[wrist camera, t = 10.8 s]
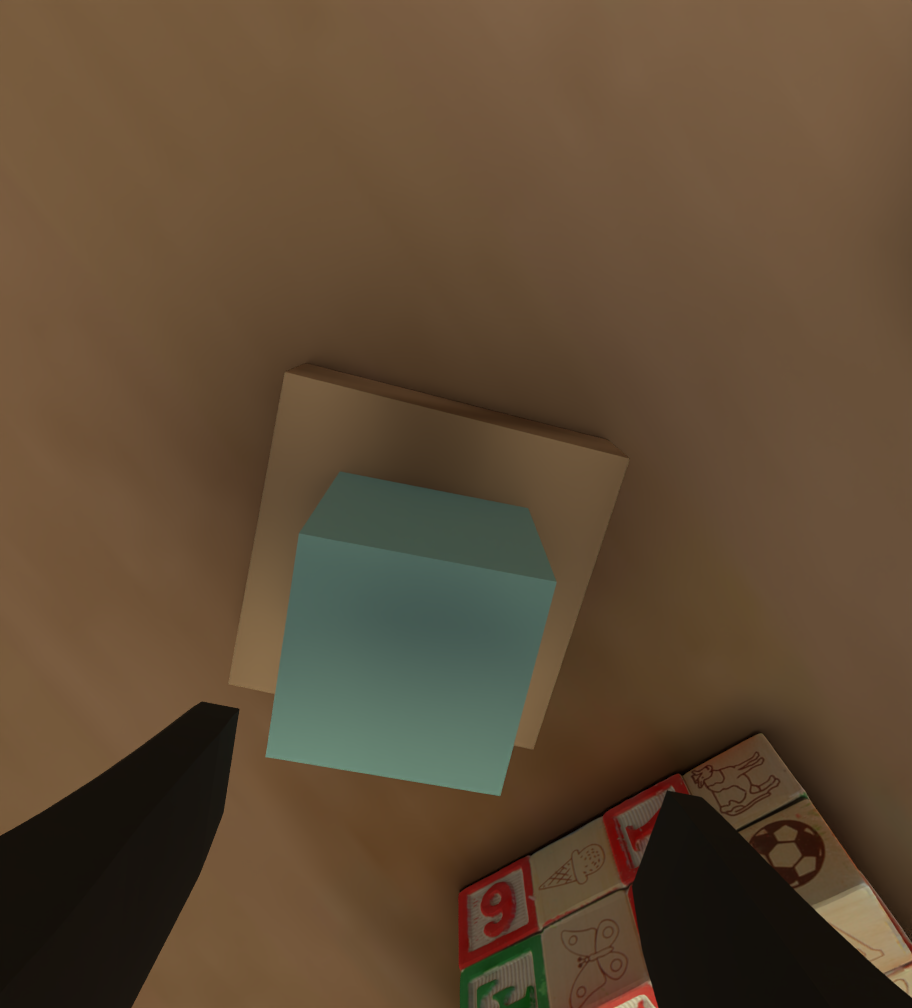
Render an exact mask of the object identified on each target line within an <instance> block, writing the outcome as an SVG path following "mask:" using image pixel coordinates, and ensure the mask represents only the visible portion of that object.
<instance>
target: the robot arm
mask: <svg viewBox="0 0 912 1008" xmlns="http://www.w3.org/2000/svg"><path fill="white" fill-rule="evenodd" d="M238 714H239V709H238V708H233V707H228V706H222V705H217V704H212V703H207V702H200V703H199V704H197V705H195V706H194V707H192V708H191V709H190V710H188V711H187V712H186V713H185V714H183V715H182V716H181V717H179V718H178V719H177V720H175V721H174V722H173V723H171V724H170V725H169V726H168V727H166V728H165V729H164V730H162V731H161V732H160V733H158V734H157V735H156V736H154V737H153V738H151V739H150V740H149V741H147V742H146V743H145V744H143V745H142V746H141V747H139V748H138V749H137V750H135V751H134V752H132V753H131V754H129V755H128V756H127V757H125V758H124V759H122V760H121V761H119V762H118V763H117V764H115V765H114V766H112V767H111V768H109V769H108V770H107V771H105V772H104V773H102V774H101V775H99V776H98V777H96V778H95V779H93V780H92V781H90V782H89V783H87V784H86V785H84V786H82V787H81V788H79V789H78V790H76V791H75V792H73V793H71V794H70V795H68V796H67V797H65V798H64V799H62V800H60V801H59V802H57V803H56V804H54V805H52V806H51V807H49V808H48V809H46V810H45V811H43V812H41V813H40V814H38V815H36V816H34V817H33V818H31V819H29V820H28V821H26V822H24V823H22V824H21V825H19V826H17V827H15V828H14V829H12V830H10V831H8V832H6V833H5V834H3V835H1V836H0V1008H131V1007H132V1005H133V1003H134V1001H135V999H136V998H137V996H138V994H139V992H140V990H141V988H142V986H143V984H144V982H145V980H146V978H147V976H148V974H149V972H150V970H151V969H152V967H153V965H154V963H155V961H156V959H157V957H158V955H159V953H160V951H161V949H162V947H163V945H164V943H165V941H166V939H167V938H168V936H169V934H170V932H171V930H172V928H173V926H174V924H175V922H176V920H177V918H178V916H179V914H180V912H181V910H182V908H183V906H184V904H185V902H186V900H187V899H188V897H189V895H190V893H191V891H192V889H193V887H194V885H195V883H196V881H197V879H198V877H199V875H200V872H201V870H202V867H203V865H204V862H205V860H206V857H207V855H208V852H209V849H210V847H211V844H212V842H213V839H214V836H215V834H216V831H217V828H218V826H219V823H220V820H221V818H222V815H223V812H224V806H225V799H226V793H227V786H228V780H229V773H230V767H231V760H232V754H233V747H234V741H235V734H236V727H237V721H238ZM632 892H633V899H634V905H635V912H636V919H637V925H638V930H639V936H640V941H641V947H642V952H643V956H644V959H645V963H646V967H647V970H648V974H649V977H650V981H651V984H652V988H653V991H654V995H655V998H656V1002H657V1005H658V1008H912V997H910V996H909V995H908V994H907V993H906V992H904V991H903V990H902V989H901V988H900V987H898V986H897V985H896V984H895V983H894V982H893V981H891V980H890V979H889V978H888V977H887V976H886V975H885V974H883V973H882V972H881V971H880V970H879V969H878V968H877V967H875V966H874V965H873V964H872V963H871V962H870V961H869V960H868V959H867V958H866V957H865V956H863V955H862V954H861V953H860V952H859V951H858V950H857V949H856V948H855V947H854V946H853V945H852V944H851V943H849V942H848V941H847V940H846V939H845V938H844V937H843V936H842V935H841V934H840V933H839V932H838V931H836V930H835V929H834V928H833V927H832V926H831V925H830V924H829V923H828V922H827V921H826V920H825V919H824V918H823V917H822V916H821V915H820V914H819V913H818V912H817V911H816V910H815V909H814V908H813V907H812V906H811V905H810V904H809V903H807V902H806V901H805V900H804V899H803V898H802V897H801V896H800V895H799V894H798V893H797V892H796V891H795V890H794V889H793V888H792V887H791V886H790V885H789V884H788V883H787V882H786V881H785V879H784V878H783V877H782V876H781V875H780V874H779V873H778V872H777V871H776V870H775V869H774V868H773V867H772V866H771V865H770V864H769V863H768V862H767V861H766V860H765V859H764V858H763V857H762V856H761V855H760V854H759V853H758V852H757V851H756V850H755V849H754V848H753V847H752V846H751V845H750V844H749V843H748V842H747V841H746V840H745V839H744V838H743V836H742V835H741V834H740V833H739V832H738V831H737V830H736V829H735V828H734V827H733V826H732V825H731V824H730V823H729V822H728V821H727V820H726V819H725V818H724V817H723V816H722V815H721V814H720V813H719V812H718V811H717V810H716V809H714V808H713V807H712V806H711V805H710V804H709V803H708V802H707V801H706V800H705V799H704V798H702V797H699V796H694V795H689V794H683V793H678V792H673V791H668V790H667V792H666V794H665V797H664V800H663V803H662V805H661V808H660V811H659V814H658V816H657V819H656V822H655V824H654V827H653V830H652V833H651V835H650V838H649V841H648V844H647V846H646V849H645V852H644V854H643V857H642V860H641V863H640V865H639V868H638V871H637V874H636V876H635V879H634V882H633V884H632Z"/></svg>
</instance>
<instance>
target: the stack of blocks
mask: <svg viewBox="0 0 912 1008" xmlns="http://www.w3.org/2000/svg"><path fill="white" fill-rule="evenodd" d="M667 790H668V791H673V792H678V793H683V794H689V795H694V796H699V797H702V798H704V799H705V800H706V801H707V802H708V803H709V804H710V805H711V806H712V807H713V808H714V809H716V810H717V811H718V812H719V813H720V814H721V815H722V816H723V817H724V818H725V819H726V820H727V821H728V822H729V823H730V824H731V825H732V826H733V827H734V828H735V829H736V830H737V831H738V832H739V833H740V834H741V835H742V836H743V838H744V839H745V840H746V841H747V842H748V843H749V844H750V845H751V846H752V847H753V848H754V849H755V850H756V851H757V852H758V853H759V854H760V855H761V856H762V857H763V858H764V859H765V860H766V861H767V862H768V863H769V864H770V865H771V866H772V867H773V868H774V869H775V870H776V871H777V872H778V873H779V874H780V875H781V876H782V877H783V878H784V879H785V881H786V882H787V883H788V884H789V885H790V886H791V887H792V888H793V889H794V890H795V891H796V892H797V893H798V894H799V895H800V896H801V897H802V898H803V899H804V900H805V901H806V902H807V903H809V904H810V905H811V906H812V907H813V908H814V909H815V910H816V911H817V912H818V913H819V914H820V915H821V916H822V917H823V918H824V919H825V920H826V921H827V922H828V923H829V924H830V925H831V926H832V927H833V928H834V929H835V930H836V931H838V932H839V933H840V934H841V935H842V936H843V937H844V938H845V939H846V940H847V941H848V942H849V943H851V944H852V945H853V946H854V947H855V948H856V949H857V950H858V951H859V952H860V953H861V954H862V955H863V956H865V957H866V958H867V959H868V960H869V961H870V962H871V963H872V964H873V965H874V966H875V967H877V968H878V969H879V970H880V971H881V972H882V973H883V974H885V975H886V976H887V977H888V978H889V979H890V980H891V981H893V982H894V983H895V984H896V985H897V986H898V987H900V988H901V989H902V990H903V991H904V992H906V993H907V994H908V995H909V996H910V997H912V942H911V941H910V939H909V938H908V936H907V935H906V933H905V932H904V930H903V929H902V927H901V926H900V925H899V923H898V922H897V920H896V919H895V918H894V916H893V915H892V913H891V912H890V911H889V909H888V908H887V906H886V905H885V904H884V902H883V901H882V899H881V898H880V897H879V895H878V894H877V892H876V891H875V890H874V888H873V887H872V886H871V884H870V883H869V882H868V880H867V879H866V878H865V876H864V875H863V874H862V873H861V871H859V870H858V868H857V867H856V865H855V864H854V863H853V861H852V860H851V858H850V857H849V855H848V854H847V852H846V851H845V849H844V848H843V847H842V845H841V844H840V842H839V841H838V839H837V838H836V837H835V835H834V834H833V832H832V831H831V829H830V828H829V826H828V825H827V824H826V822H825V821H824V819H823V818H822V816H821V815H820V814H819V812H818V811H817V809H816V808H815V806H814V805H813V804H812V802H811V800H810V799H809V797H808V796H807V793H806V792H805V790H804V789H803V788H802V786H801V785H800V784H799V783H798V781H797V780H796V779H795V777H794V776H793V774H792V773H791V772H790V770H789V769H788V768H787V766H786V765H785V763H784V762H783V761H782V759H781V758H780V757H779V755H778V754H777V752H776V751H775V750H774V748H773V747H772V746H771V744H770V743H769V741H768V740H767V739H766V737H765V736H764V735H763V734H762V733H760V734H757V735H755V736H753V737H751V738H749V739H747V740H745V741H743V742H741V743H739V744H738V745H736V746H734V747H732V748H730V749H729V750H727V751H725V752H723V753H721V754H719V755H718V756H716V757H714V758H712V759H710V760H708V761H707V762H705V763H703V764H701V765H699V766H697V767H696V768H694V769H692V770H690V771H689V772H687V773H686V774H685V775H683V776H681V775H680V774H675V775H673V776H671V777H669V778H668V779H666V780H664V781H662V782H659V783H657V784H656V785H654V786H653V787H651V788H649V789H647V790H645V791H643V792H641V793H639V794H637V795H636V796H634V797H632V798H630V799H628V800H625V801H624V802H623V803H621V804H620V805H618V806H616V807H614V808H612V809H610V810H608V811H607V812H605V814H604V815H603V816H602V817H600V818H597V819H595V820H593V821H592V822H590V823H588V824H586V825H585V826H583V827H581V828H579V829H578V830H576V831H574V832H572V833H570V834H569V835H567V836H565V837H563V838H561V839H559V840H557V841H555V842H553V843H552V844H550V845H548V846H546V847H544V848H543V849H541V850H539V851H537V852H536V853H534V854H533V855H532V856H529V855H528V856H526V857H524V858H522V859H519V860H518V861H516V862H514V863H512V864H510V865H508V866H507V867H505V868H502V869H501V870H499V871H498V872H496V873H494V874H492V875H490V876H488V877H486V878H484V879H482V880H480V881H478V882H477V883H475V884H473V885H471V886H469V887H467V888H465V889H464V890H463V891H461V892H460V893H459V897H458V901H459V968H460V971H461V978H460V1008H658V1005H657V1002H656V998H655V995H654V991H653V988H652V984H651V981H650V977H649V974H648V970H647V967H646V963H645V959H644V956H643V952H642V947H641V941H640V936H639V930H638V925H637V919H636V912H635V905H634V899H633V892H632V884H633V882H634V879H635V876H636V874H637V871H638V868H639V865H640V863H641V860H642V857H643V854H644V852H645V849H646V846H647V844H648V841H649V838H650V835H651V833H652V830H653V827H654V824H655V822H656V819H657V816H658V814H659V811H660V808H661V805H662V803H663V800H664V797H665V794H666V792H667Z"/></svg>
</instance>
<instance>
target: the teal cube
mask: <svg viewBox="0 0 912 1008" xmlns="http://www.w3.org/2000/svg"><path fill="white" fill-rule="evenodd" d="M556 583H557V581H556V579H555V576H554V574H553V571H552V568H551V566H550V563H549V561H548V558H547V556H546V553H545V550H544V548H543V545H542V543H541V540H540V537H539V535H538V532H537V530H536V527H535V524H534V522H533V519H532V517H531V514H530V511H529V509H528V508H525V507H520V506H515V505H509V504H504V503H499V502H494V501H489V500H484V499H479V498H474V497H468V496H463V495H458V494H453V493H448V492H443V491H438V490H433V489H427V488H422V487H417V486H412V485H407V484H402V483H397V482H391V481H386V480H381V479H376V478H371V477H366V476H361V475H356V474H350V473H345V472H339V473H338V475H337V476H336V478H335V479H334V481H333V483H332V484H331V486H330V487H329V489H328V490H327V492H326V493H325V495H324V496H323V498H322V499H321V501H320V502H319V504H318V505H317V507H316V508H315V510H314V511H313V513H312V514H311V516H310V517H309V519H308V520H307V522H306V523H305V525H304V526H303V528H302V529H301V531H300V532H299V536H298V543H297V549H296V556H295V563H294V570H293V576H292V583H291V590H290V597H289V603H288V610H287V617H286V624H285V630H284V637H283V644H282V650H281V657H280V664H279V671H278V677H277V684H276V691H275V698H274V704H273V711H272V718H271V725H270V731H269V738H268V745H267V751H266V757H270V758H276V759H282V760H288V761H294V762H300V763H306V764H312V765H318V766H324V767H330V768H336V769H342V770H348V771H354V772H360V773H366V774H372V775H378V776H384V777H390V778H396V779H402V780H408V781H414V782H420V783H426V784H432V785H438V786H444V787H450V788H455V789H461V790H467V791H473V792H479V793H485V794H491V795H497V796H500V795H501V791H502V787H503V783H504V780H505V776H506V772H507V768H508V764H509V761H510V757H511V753H512V749H513V746H514V742H515V738H516V734H517V730H518V727H519V723H520V719H521V715H522V711H523V708H524V704H525V700H526V696H527V693H528V689H529V685H530V681H531V677H532V674H533V670H534V666H535V662H536V658H537V655H538V651H539V647H540V643H541V640H542V636H543V632H544V628H545V624H546V621H547V617H548V613H549V609H550V606H551V602H552V598H553V594H554V590H555V587H556Z"/></svg>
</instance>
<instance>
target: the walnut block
mask: <svg viewBox="0 0 912 1008" xmlns="http://www.w3.org/2000/svg"><path fill="white" fill-rule="evenodd" d="M629 460H630V458H628V457H627V456H626V455H625V454H624V453H623V452H622V451H620V450H619V449H618V448H617V447H616V446H615V445H614V444H612V443H611V442H610V441H609V440H607V439H603V438H599V437H595V436H591V435H587V434H583V433H579V432H575V431H571V430H567V429H563V428H559V427H555V426H551V425H548V424H544V423H540V422H536V421H532V420H528V419H524V418H520V417H516V416H512V415H508V414H504V413H500V412H496V411H492V410H488V409H484V408H481V407H477V406H473V405H469V404H465V403H461V402H457V401H453V400H449V399H445V398H441V397H437V396H433V395H429V394H425V393H421V392H418V391H414V390H410V389H406V388H402V387H398V386H394V385H390V384H386V383H382V382H378V381H374V380H370V379H366V378H362V377H358V376H354V375H351V374H347V373H343V372H339V371H335V370H331V369H327V368H323V367H319V366H315V365H311V364H307V363H305V364H302V365H300V366H297V367H295V368H293V369H290V370H288V371H286V372H285V373H284V378H283V384H282V389H281V395H280V401H279V406H278V412H277V417H276V423H275V428H274V434H273V439H272V445H271V450H270V456H269V461H268V467H267V472H266V478H265V483H264V489H263V494H262V500H261V505H260V511H259V516H258V522H257V527H256V533H255V538H254V544H253V549H252V555H251V561H250V566H249V572H248V577H247V583H246V588H245V594H244V599H243V605H242V610H241V616H240V621H239V627H238V632H237V638H236V643H235V649H234V654H233V660H232V665H231V671H230V676H229V682H228V684H230V685H235V686H240V687H244V688H249V689H254V690H258V691H263V692H268V693H272V694H275V691H276V684H277V677H278V671H279V664H280V657H281V650H282V644H283V637H284V630H285V624H286V617H287V610H288V603H289V597H290V590H291V583H292V576H293V570H294V563H295V556H296V549H297V543H298V536H299V532H300V531H301V529H302V528H303V526H304V525H305V523H306V522H307V520H308V519H309V517H310V516H311V514H312V513H313V511H314V510H315V508H316V507H317V505H318V504H319V502H320V501H321V499H322V498H323V496H324V495H325V493H326V492H327V490H328V489H329V487H330V486H331V484H332V483H333V481H334V479H335V478H336V476H337V475H338V473H339V472H345V473H350V474H356V475H361V476H366V477H371V478H376V479H381V480H386V481H391V482H397V483H402V484H407V485H412V486H417V487H422V488H427V489H433V490H438V491H443V492H448V493H453V494H458V495H463V496H468V497H474V498H479V499H484V500H489V501H494V502H499V503H504V504H509V505H515V506H520V507H525V508H528V509H529V511H530V514H531V517H532V519H533V522H534V524H535V527H536V530H537V532H538V535H539V537H540V540H541V543H542V545H543V548H544V550H545V553H546V556H547V558H548V561H549V563H550V566H551V568H552V571H553V574H554V576H555V579H556V581H557V583H556V587H555V590H554V594H553V598H552V602H551V606H550V609H549V613H548V617H547V621H546V624H545V628H544V632H543V636H542V640H541V643H540V647H539V651H538V655H537V658H536V662H535V666H534V670H533V674H532V677H531V681H530V685H529V689H528V693H527V696H526V700H525V704H524V708H523V711H522V715H521V719H520V723H519V727H518V730H517V734H516V738H515V742H514V746H519V747H523V748H528V749H534V746H535V743H536V740H537V737H538V734H539V731H540V728H541V725H542V722H543V719H544V716H545V713H546V710H547V707H548V704H549V701H550V698H551V695H552V692H553V689H554V686H555V683H556V680H557V677H558V673H559V670H560V667H561V664H562V661H563V658H564V655H565V652H566V649H567V646H568V643H569V640H570V637H571V634H572V631H573V628H574V625H575V622H576V619H577V616H578V613H579V610H580V607H581V604H582V601H583V598H584V595H585V592H586V589H587V586H588V583H589V580H590V577H591V574H592V571H593V568H594V565H595V562H596V559H597V556H598V553H599V550H600V547H601V544H602V541H603V538H604V535H605V532H606V529H607V526H608V523H609V520H610V517H611V514H612V511H613V508H614V505H615V502H616V499H617V496H618V493H619V490H620V487H621V484H622V481H623V478H624V475H625V472H626V469H627V466H628V463H629Z"/></svg>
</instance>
